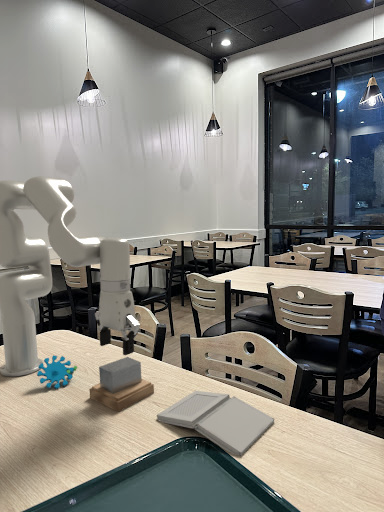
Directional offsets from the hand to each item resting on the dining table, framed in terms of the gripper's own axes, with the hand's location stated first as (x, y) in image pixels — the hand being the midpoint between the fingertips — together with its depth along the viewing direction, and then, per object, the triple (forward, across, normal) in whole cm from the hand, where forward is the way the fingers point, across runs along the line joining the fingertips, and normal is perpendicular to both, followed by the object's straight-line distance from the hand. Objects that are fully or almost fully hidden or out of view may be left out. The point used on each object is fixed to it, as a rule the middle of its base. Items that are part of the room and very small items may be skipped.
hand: (116, 349), depth 94 cm
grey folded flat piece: (+12, -29, -5) cm, 32 cm away
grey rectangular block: (+10, -1, 0) cm, 10 cm away
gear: (+14, +19, +6) cm, 25 cm away
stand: (+12, -2, 0) cm, 13 cm away
